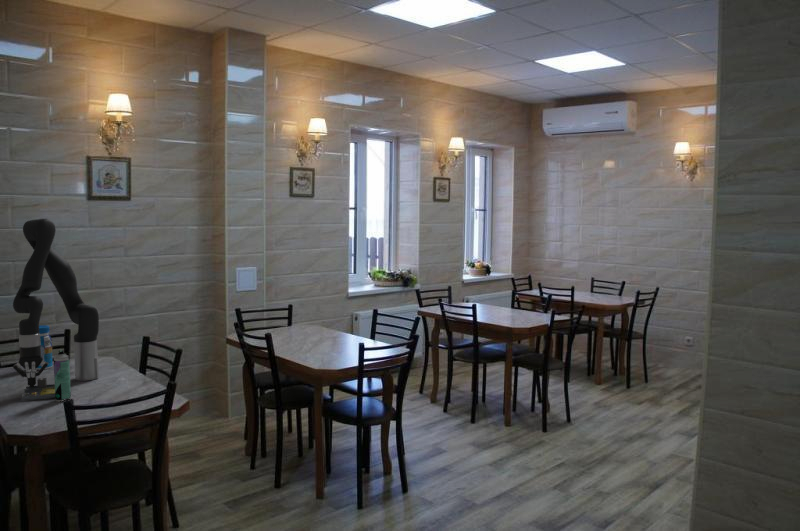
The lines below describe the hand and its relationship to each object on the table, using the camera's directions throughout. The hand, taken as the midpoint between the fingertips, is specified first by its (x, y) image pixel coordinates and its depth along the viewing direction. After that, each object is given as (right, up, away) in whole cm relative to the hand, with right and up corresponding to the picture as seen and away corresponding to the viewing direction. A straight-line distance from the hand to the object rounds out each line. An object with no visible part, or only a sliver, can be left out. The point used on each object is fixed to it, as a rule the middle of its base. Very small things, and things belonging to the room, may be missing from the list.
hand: (32, 386), depth 260 cm
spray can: (+16, -4, -6) cm, 18 cm away
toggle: (+4, -1, +1) cm, 4 cm away
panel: (+6, -4, -1) cm, 7 cm away
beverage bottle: (-19, 0, +42) cm, 46 cm away
